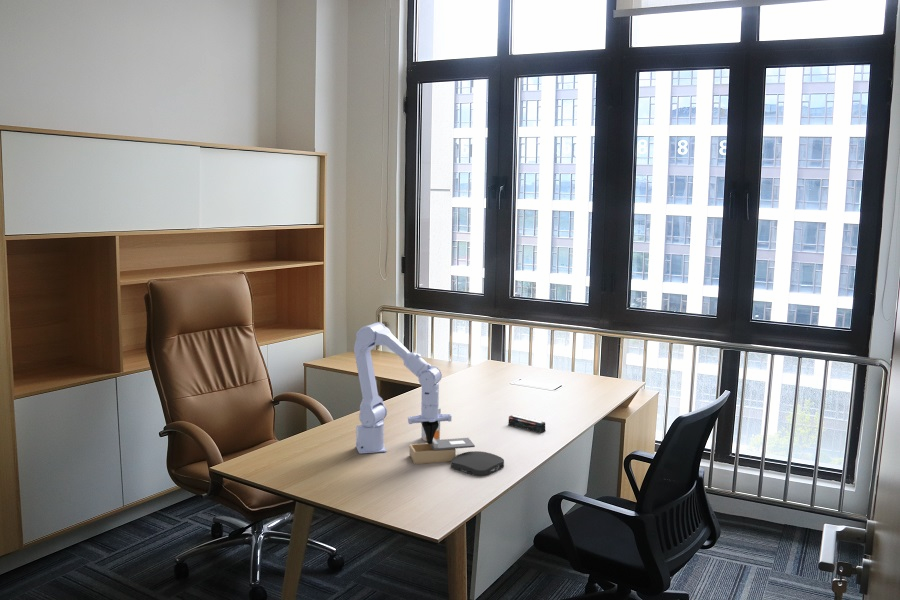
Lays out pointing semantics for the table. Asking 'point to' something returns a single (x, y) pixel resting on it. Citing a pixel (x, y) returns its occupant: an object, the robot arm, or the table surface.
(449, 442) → the lid
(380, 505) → the table surface
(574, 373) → the table surface
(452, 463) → the media streaming box
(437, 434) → the skincare box
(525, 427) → the graphics card
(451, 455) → the box
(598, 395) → the table surface
